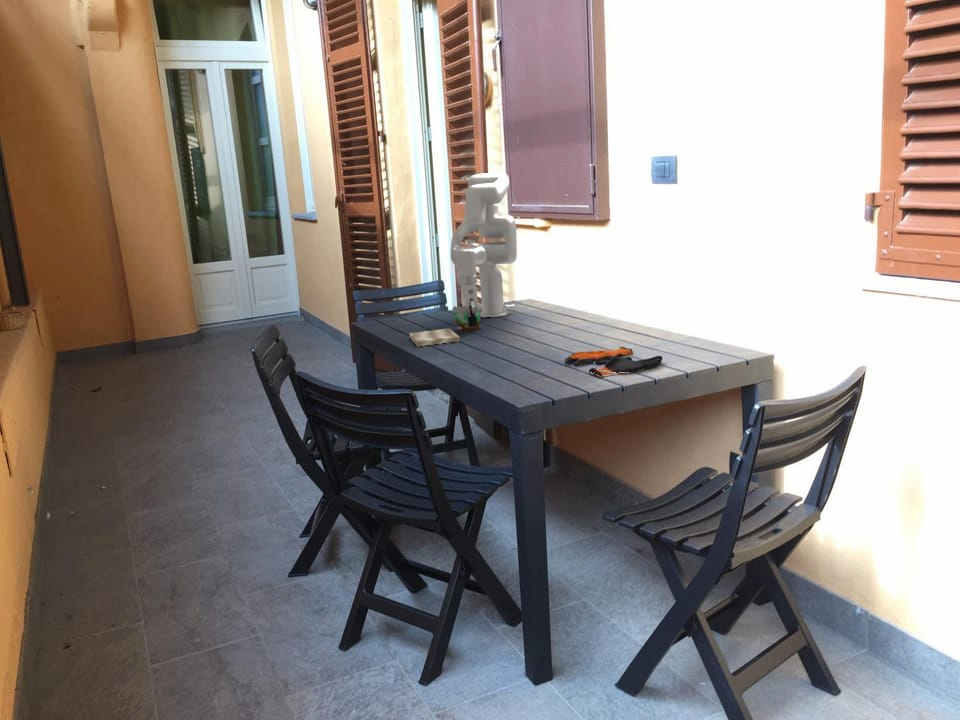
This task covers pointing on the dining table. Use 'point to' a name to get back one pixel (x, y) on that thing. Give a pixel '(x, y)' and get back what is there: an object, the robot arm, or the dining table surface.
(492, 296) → the robot arm
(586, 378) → the dining table surface
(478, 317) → the food container
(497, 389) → the dining table surface
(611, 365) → the pair of gloves
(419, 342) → the birch board
